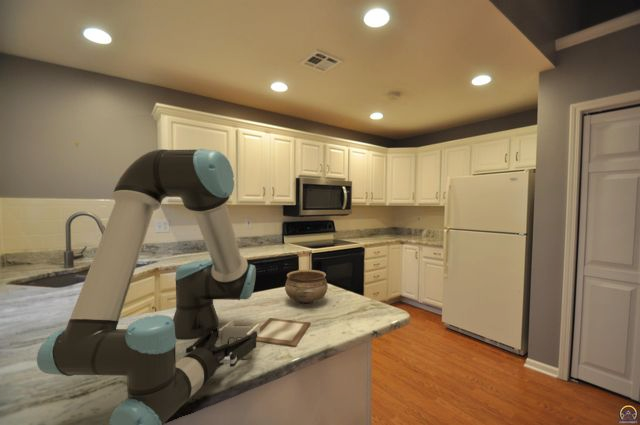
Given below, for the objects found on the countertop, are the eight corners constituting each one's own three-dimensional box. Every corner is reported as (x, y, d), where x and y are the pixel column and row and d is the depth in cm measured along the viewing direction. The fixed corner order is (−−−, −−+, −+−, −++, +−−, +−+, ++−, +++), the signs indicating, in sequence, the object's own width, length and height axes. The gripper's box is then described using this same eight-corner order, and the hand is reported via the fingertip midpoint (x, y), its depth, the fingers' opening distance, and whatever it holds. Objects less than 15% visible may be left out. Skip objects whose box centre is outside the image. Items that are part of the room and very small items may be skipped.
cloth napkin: (247, 340, 83) (247, 338, 83) (269, 319, 99) (269, 317, 99) (295, 347, 79) (295, 344, 79) (310, 324, 95) (310, 322, 95)
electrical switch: (219, 360, 73) (220, 329, 73) (225, 352, 77) (225, 323, 78) (249, 359, 73) (250, 329, 74) (253, 352, 78) (254, 323, 78)
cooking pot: (284, 293, 128) (284, 268, 128) (322, 291, 131) (322, 267, 131) (285, 314, 103) (285, 283, 103) (332, 311, 106) (332, 281, 106)
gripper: (153, 381, 60) (215, 334, 82) (233, 398, 55) (277, 343, 77) (152, 349, 60) (215, 311, 82) (233, 363, 55) (277, 318, 77)
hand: (245, 326), depth 80 cm, fingers closed on electrical switch, 8 cm apart
